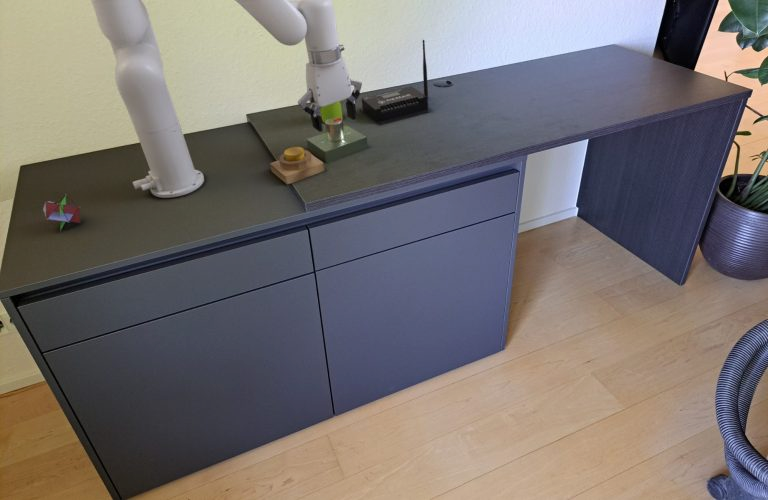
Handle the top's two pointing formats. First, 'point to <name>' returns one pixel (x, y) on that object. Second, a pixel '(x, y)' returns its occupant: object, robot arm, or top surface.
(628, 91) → the top surface
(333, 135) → the dial
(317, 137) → the dial panel
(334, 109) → the soap dispenser
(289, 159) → the round yellow button
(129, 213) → the top surface
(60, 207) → the geometric puzzle
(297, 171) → the button housing
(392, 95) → the wireless controller
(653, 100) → the top surface
